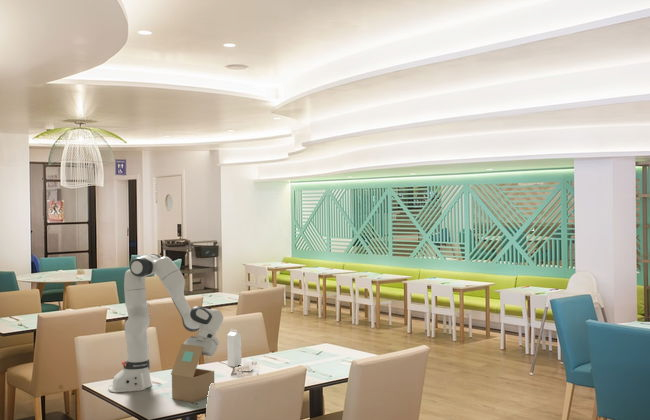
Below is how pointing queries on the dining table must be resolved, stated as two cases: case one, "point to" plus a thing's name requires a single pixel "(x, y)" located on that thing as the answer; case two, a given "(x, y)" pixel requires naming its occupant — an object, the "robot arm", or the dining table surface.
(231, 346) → the milk
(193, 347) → the lid flap
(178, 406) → the dining table surface
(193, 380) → the carton
